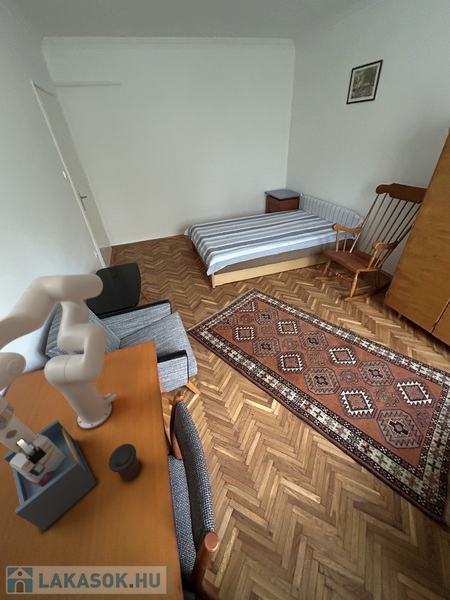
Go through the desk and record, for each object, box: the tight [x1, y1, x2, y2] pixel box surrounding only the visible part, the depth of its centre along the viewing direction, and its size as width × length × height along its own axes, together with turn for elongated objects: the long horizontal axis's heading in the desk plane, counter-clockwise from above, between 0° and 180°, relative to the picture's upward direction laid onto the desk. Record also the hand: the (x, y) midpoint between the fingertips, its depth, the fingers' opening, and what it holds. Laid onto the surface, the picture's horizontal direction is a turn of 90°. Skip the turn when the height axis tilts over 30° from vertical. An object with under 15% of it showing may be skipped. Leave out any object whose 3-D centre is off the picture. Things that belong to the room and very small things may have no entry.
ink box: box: [8, 432, 66, 487], centre depth 70 cm, size 9×5×12 cm, turn 162°
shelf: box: [3, 419, 97, 531], centre depth 74 cm, size 15×20×14 cm
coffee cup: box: [108, 443, 141, 481], centre depth 76 cm, size 8×8×10 cm
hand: (31, 449), depth 68 cm, fingers open, 9 cm apart
